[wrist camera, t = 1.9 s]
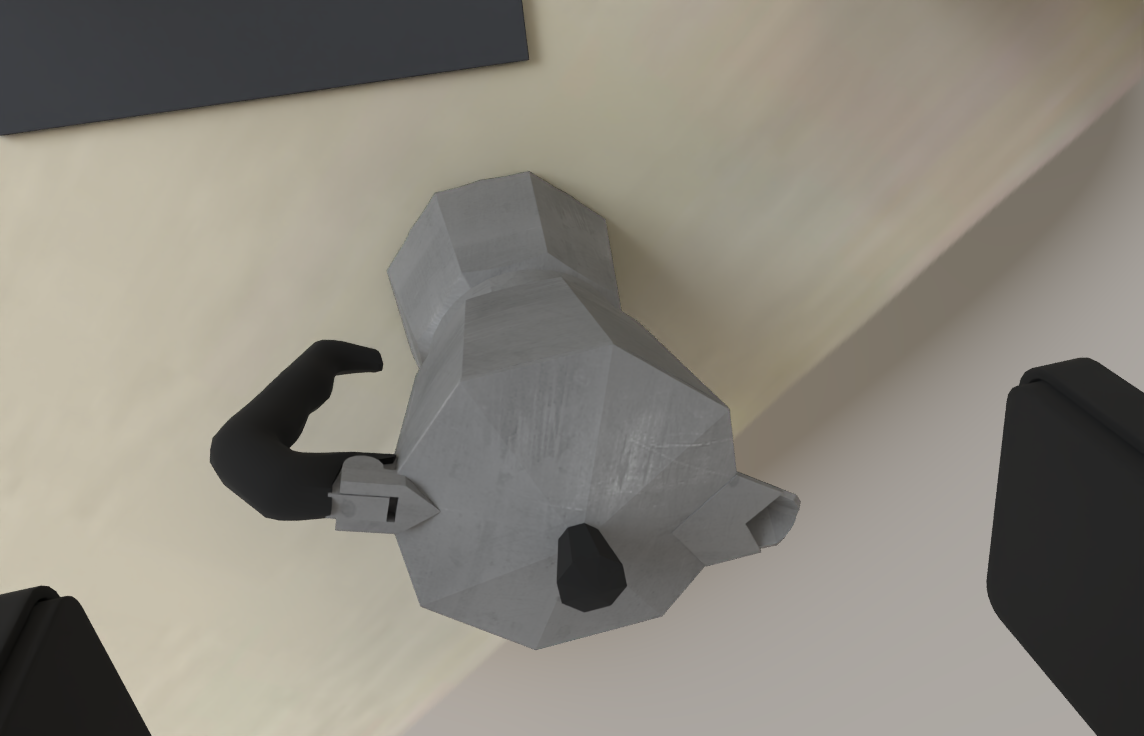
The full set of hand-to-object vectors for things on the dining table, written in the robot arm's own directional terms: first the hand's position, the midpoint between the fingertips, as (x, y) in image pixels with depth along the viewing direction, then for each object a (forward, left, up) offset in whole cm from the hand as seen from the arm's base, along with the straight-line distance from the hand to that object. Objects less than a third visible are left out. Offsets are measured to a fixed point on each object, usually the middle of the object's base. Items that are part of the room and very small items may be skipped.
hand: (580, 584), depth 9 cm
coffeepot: (+8, 0, -27) cm, 28 cm away
